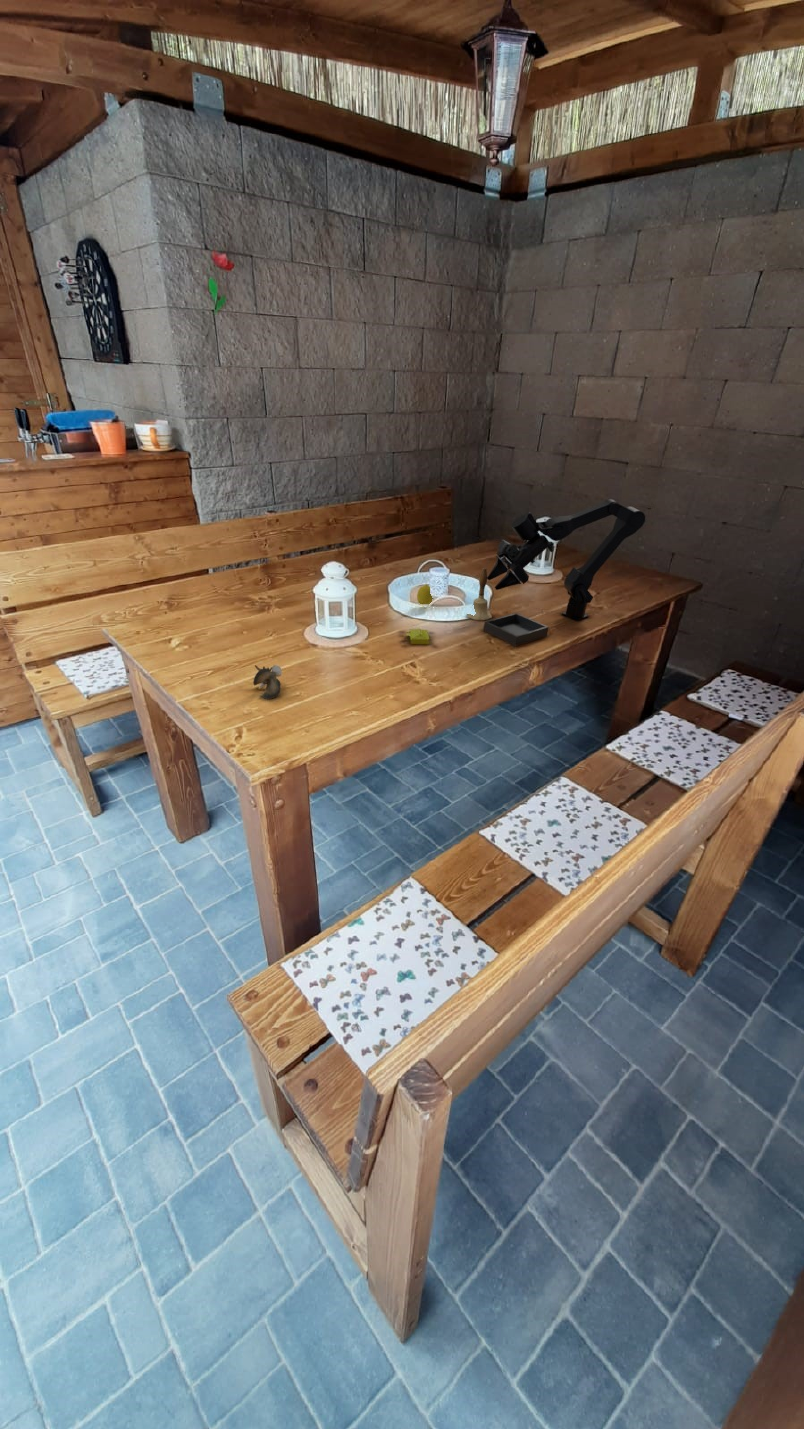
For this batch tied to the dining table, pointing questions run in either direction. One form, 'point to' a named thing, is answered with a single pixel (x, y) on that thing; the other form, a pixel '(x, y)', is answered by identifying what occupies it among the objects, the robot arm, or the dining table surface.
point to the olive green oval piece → (424, 595)
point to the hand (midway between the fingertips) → (491, 583)
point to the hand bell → (481, 600)
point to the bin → (515, 629)
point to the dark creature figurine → (268, 680)
